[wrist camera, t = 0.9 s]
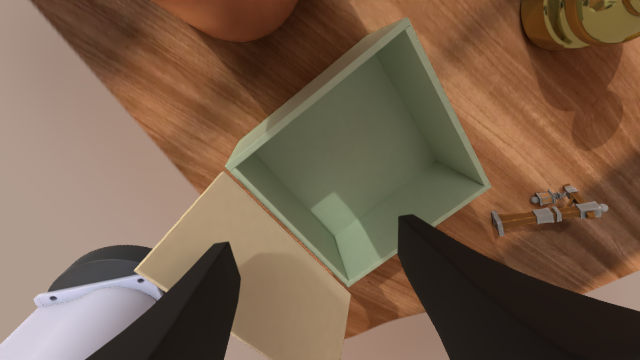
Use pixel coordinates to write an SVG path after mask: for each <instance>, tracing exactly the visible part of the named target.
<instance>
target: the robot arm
mask: <svg viewBox="0 0 640 360" xmlns="http://www.w3.org/2000/svg"><path fill="white" fill-rule="evenodd" d="M398 256H399V259H400V262H401V264H402V267H403V269H404V271H405V274H406V276H407V278H408V280H409V282H410V283H411V285H412V287H413V289H414V291H415V292H416V294H417V296H418V298H419V300H420V301H421V303H422V305H423V307H424V308H425V310H426V312H427V314H428V315H429V317H430V319H431V321H432V323H433V325H434V326H435V328H436V330H437V332H438V334H439V336H440V338H441V340H442V343H443V345H444V347H445V349H446V352H447V354H448V356H449V358H450V360H640V311H636V310H633V309H629V308H625V307H622V306H618V305H614V304H611V303H607V302H604V301H600V300H597V299H594V298H591V297H588V296H585V295H582V294H579V293H575V292H572V291H569V290H567V289H564V288H561V287H558V286H555V285H552V284H550V283H547V282H544V281H542V280H539V279H536V278H534V277H531V276H529V275H526V274H524V273H521V272H519V271H516V270H514V269H512V268H510V267H507V266H505V265H503V264H501V263H499V262H496V261H494V260H492V259H490V258H488V257H486V256H484V255H482V254H480V253H478V252H476V251H474V250H473V249H471V248H469V247H467V246H465V245H463V244H462V243H460V242H458V241H456V240H455V239H453V238H451V237H450V236H448V235H446V234H445V233H443V232H441V231H440V230H438V229H436V228H435V227H433V226H432V225H430V224H428V223H427V222H425V221H424V220H422V219H420V218H419V217H417V216H415V215H414V214H409V215H402V216H398ZM141 279H143V280H141ZM240 284H241V276H240V273H239V270H238V267H237V264H236V261H235V258H234V255H233V252H232V249H231V246H230V243H229V241H227V242H220V243H214V244H213V245H212V246H211V247H210V248H209V249H208V250H207V251H206V252H205V253H204V254H203V255H202V256H201V257H200V259H199V260H198V261H197V262H196V263H195V264H194V265H193V266H192V267H191V268H190V269H189V270H188V271H187V272H186V273H185V274H184V275H183V276H182V277H181V278H180V279H179V281H178V282H177V283H175V284H174V285H173V286H172V287H171V288H170V289H169V290H168V291H167V292H166V293H165V294H163V292H162V290H161V288H159V287H158V286H156V285H155V284H153V283H152V282H150V281H148V280H147V279H145V278H144V277H142V276H141V275H139V274H137V275H132V276H127V277H122V278H117V279H112V280H106V281H101V282H96V283H91V284H86V285H81V286H76V287H71V288H66V289H61V290H56V291H51V292H46V293H41V294H38V295H37V296H36V297H35V298H34V302H35V303H36V305H37V306H38V308H37V309H36V310H35V311H34V312H33V313H32V314H31V315H30V316H29V317H28V318H27V319H26V320H25V321H24V322H23V323H22V324H21V325H20V326H19V327H18V328H17V329H16V330H15V331H14V332H13V333H12V334H11V335H10V336H9V337H8V338H7V339H6V340H5V341H4V342H3V343H1V344H0V360H224V357H225V353H226V349H227V345H228V341H229V337H230V333H231V329H232V325H233V321H234V317H235V313H236V309H237V305H238V300H239V293H240Z"/></svg>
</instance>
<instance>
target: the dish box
mask: <svg viewBox="0 0 640 360" xmlns="http://www.w3.org/2000/svg"><path fill="white" fill-rule="evenodd" d="M410 24H411V23H410V21H409V19H408V17H406V18H403V19H401V20H399V21H397V22H394V23H392V24H390V25H388V26H386V27H383V28H381V29H379V30H377V31H374V32H372V33H370V34H368V35H366V36H365V37H364V38H363V39H362V40H360V41H359V42H358V43H357V44H356V45H354V46H353V47H352V48H351V49H350V50H348V51H347V52H346V53H345V54H343V55H342V56H341V57H340V58H339V59H337V60H336V61H335V62H334V63H333V64H331V65H330V66H329V67H328V68H327V69H325V70H324V71H323V72H322V73H321V74H319V75H318V76H317V77H316V78H315V79H313V80H312V81H311V82H310V83H308V84H307V85H306V86H305V87H304V88H302V89H301V90H300V91H299V92H298V93H296V94H295V95H294V96H293V97H292V98H290V99H289V100H288V101H287V102H286V103H284V104H283V105H282V106H281V107H279V108H278V109H277V110H276V111H275V112H273V113H272V114H271V115H270V116H269V117H267V118H266V119H265V120H264V121H263V122H261V123H260V124H259V125H258V126H257V127H255V128H254V129H253V130H252V131H250V132H249V133H248V134H247V135H246V136H244V137H243V138H242V139H241V140H240V141H239V142H238V144H237V146H236V148H235V149H234V151H233V153H232V155H231V156H230V158H229V160H228V162H227V163H226V165H225V167H226V168H227V169H228V170H229V171H230V172H231V173H232V174H233V175H234V176H235V177H236V178H237V179H238V180H239V181H240V182H241V183H242V184H243V185H244V186H245V187H246V188H247V189H248V190H249V191H250V192H251V193H252V194H253V195H254V196H255V197H256V198H257V199H258V200H259V201H260V202H261V203H262V204H263V205H264V206H265V207H266V208H267V209H268V210H269V211H270V212H271V213H272V214H273V215H274V216H275V217H276V218H277V219H278V220H280V221H281V222H282V223H283V224H284V225H285V226H286V227H287V228H288V229H289V230H290V231H291V232H292V233H293V234H294V235H295V236H296V237H297V238H298V239H299V240H300V241H301V242H302V243H303V244H304V245H305V246H306V247H307V248H308V249H309V250H310V251H311V252H312V253H313V254H314V255H315V256H316V257H317V258H318V259H319V260H320V261H321V262H322V263H323V264H324V265H325V266H326V267H327V268H328V269H329V270H330V271H331V272H332V273H333V274H334V275H335V276H337V277H338V278H339V279H340V280H341V281H342V282H343V283H344V284H345V285H346V286H347V287H350V286H351V285H352V284H354V283H355V282H357V281H358V280H360V279H361V278H362V277H364V276H365V275H367V274H368V273H370V272H371V271H372V270H374V269H375V268H377V267H378V266H380V265H381V264H382V263H384V262H385V261H387V260H388V259H390V258H391V257H392V256H394V255H395V254H397V253H398V216H402V215H409V214H414V215H415V216H417V217H419V218H420V219H422V220H424V221H425V222H427V223H428V224H430V225H432V226H433V227H435V226H437V225H438V224H439V223H441V222H442V221H444V220H445V219H447V218H448V217H449V216H451V215H452V214H454V213H455V212H457V211H458V210H459V209H461V208H462V207H464V206H465V205H467V204H468V203H469V202H471V201H472V200H474V199H475V198H477V197H478V196H479V195H481V194H482V193H484V192H485V191H487V190H488V189H489V188H491V187H492V186H491V184H490V183H489V180H488V178H487V176H486V174H485V172H484V170H483V168H482V166H481V164H480V162H479V160H478V158H477V156H476V154H475V152H474V150H473V148H472V146H471V144H470V142H469V140H468V138H467V136H466V134H465V132H464V130H463V128H462V126H461V124H460V122H459V120H458V118H457V116H456V114H455V112H454V110H453V108H452V106H451V104H450V102H449V100H448V98H447V96H446V94H445V92H444V90H443V88H442V85H441V83H440V81H439V79H438V77H437V75H436V73H435V71H434V69H433V67H432V65H431V63H430V61H429V59H428V57H427V55H426V53H425V51H424V49H423V47H422V45H421V43H420V41H419V39H418V37H417V35H416V33H415V31H414V29H413V27H412V25H410Z"/></svg>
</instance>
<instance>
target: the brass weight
mask: <svg viewBox="0 0 640 360" xmlns="http://www.w3.org/2000/svg"><path fill="white" fill-rule="evenodd" d="M521 18H522V23H523V27H524V30H525V32H526V34H527V36H528V37H529V39H530V40H531V41H532V42H533V43H534V44H535V45H537V46H538V47H540V48H543V49H547V50H559V49H569V48H570V49H582V48H586V47H589V46H592V45H594V46H615V45H620V44H624V43H627V42H629V41H632V40H634V39H636V38H638V37H640V0H522V3H521Z"/></svg>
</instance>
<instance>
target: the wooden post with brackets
mask: <svg viewBox="0 0 640 360" xmlns="http://www.w3.org/2000/svg"><path fill="white" fill-rule="evenodd" d="M563 191H564V193H566V195H565V196H567V197H568V198H569V199H570V201H569V202H568V204H567V206H566V207H563V208H556V206H555V207H552V209H549V208H548V207H547V208H544V209H538V210H532V212H527V213H518V214H497V212H496V211H491V213H492V218H493V222H494V226H495V228H496V230H497V232H498V234H499V236H500V237H501V236H504V231H506V230H509V229H512V228H515V227H519V226H523V225H526V224H531V223H537V224H541V223H548V222H554V220H556V221H557V222H559V221H562V220H561V219H568V218H576V217H580V219H584V218H587V219H594V218H595V217H601V212H606V211H607V210H608V206H607V205H605V204H597V203H596V202H595V201H594V202H590V203H587V202H586V201H585V200H584V199H583V198H582V197H581V196H580V195H579V194H578V191H577V190H576V189H575V188H574V187H572V186H571V185H570V184H565V185H563ZM564 193H559V192H557V194H556V193H552V192H551V191H550V190H548V192H545V193H536V197H532V198H531V202H532V203H539V204H540V206H542V205H543V204H547V203H553V204H555V201H556V199H558V198H559V199H560V200H561V197H563V196H564ZM561 194H562V196H561ZM573 202H574V203H575V206H572V207H571V205H572V204H573Z"/></svg>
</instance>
